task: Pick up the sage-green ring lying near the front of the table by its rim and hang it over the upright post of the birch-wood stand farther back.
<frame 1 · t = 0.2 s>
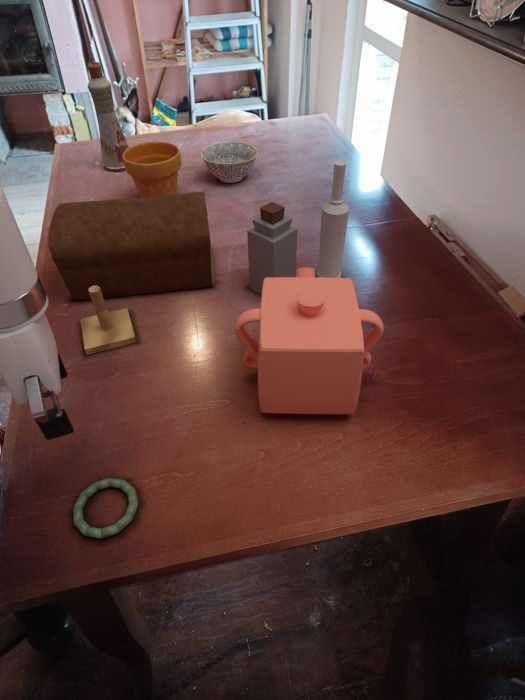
hand: (58, 405, 60), 13 cm above the table, tool pointing down, fingers open, 9 cm apart
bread: (145, 274, 104), on the table
bowl: (231, 178, 137), on the table
flower pot: (160, 201, 128), on the table
bottle: (118, 166, 145), on the table
ring: (105, 506, 64), point 1 cm above the table
teapot: (304, 365, 83), on the table
perfume bottle: (272, 287, 100), on the table
stand: (108, 333, 90), on the table
bottle 2: (328, 280, 101), on the table
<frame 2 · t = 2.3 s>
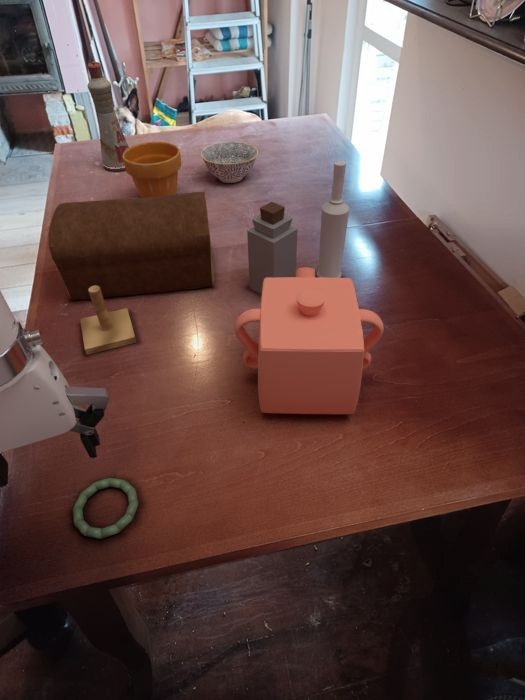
hand: (49, 461, 54), 13 cm above the table, tool pointing down, fingers open, 9 cm apart
nothing on the table moved.
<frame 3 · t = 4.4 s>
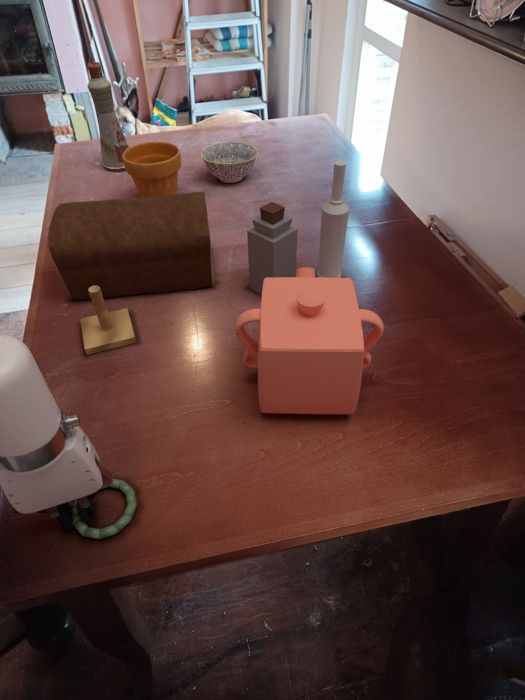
hand: (79, 517, 64), 0 cm above the table, tool pointing down, fingers closed on ring, 1 cm apart
ring: (104, 507, 64), point 1 cm above the table, touching gripper
everything else where it was.
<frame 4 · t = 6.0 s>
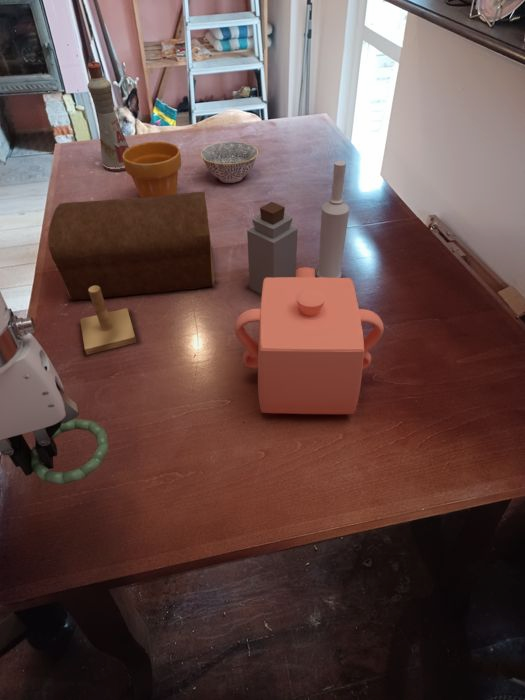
hand: (39, 460, 54), 14 cm above the table, tool pointing down, fingers closed on ring, 1 cm apart
ring: (70, 449, 54), point 14 cm above the table, touching gripper
everything else where it was.
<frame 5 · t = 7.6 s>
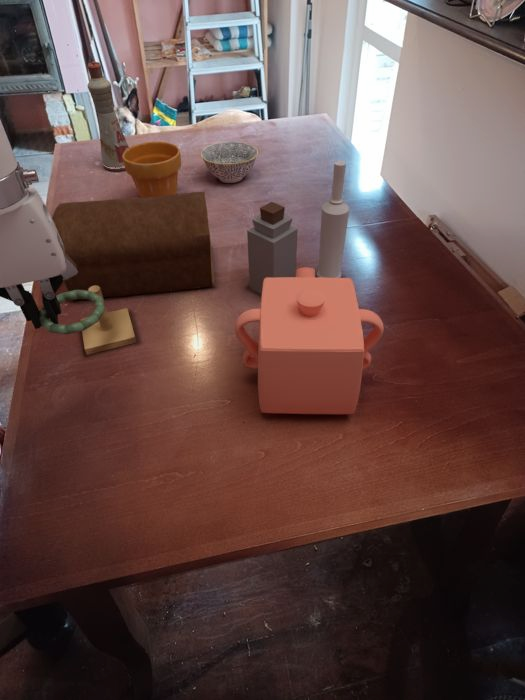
hand: (46, 319, 63), 19 cm above the table, tool pointing down, fingers closed on ring, 1 cm apart
ring: (72, 311, 64), point 20 cm above the table, touching gripper
everything else where it was.
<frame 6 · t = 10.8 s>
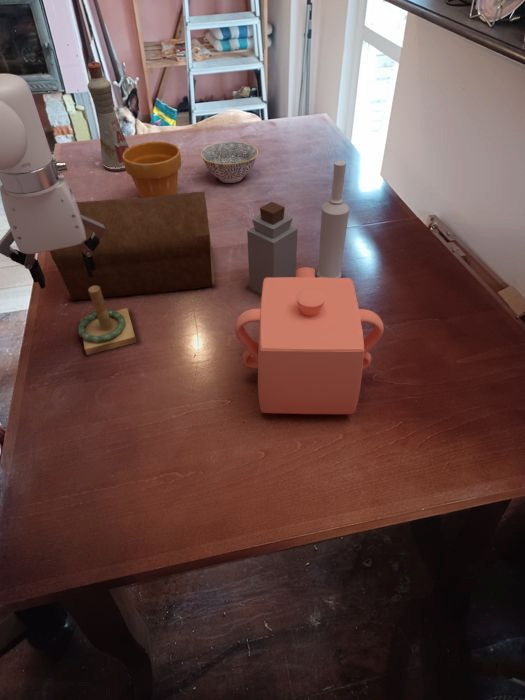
hand: (67, 278, 80), 14 cm above the table, tool pointing down, fingers open, 7 cm apart
ring: (101, 325, 88), point 2 cm above the table, touching stand
everything else where it was.
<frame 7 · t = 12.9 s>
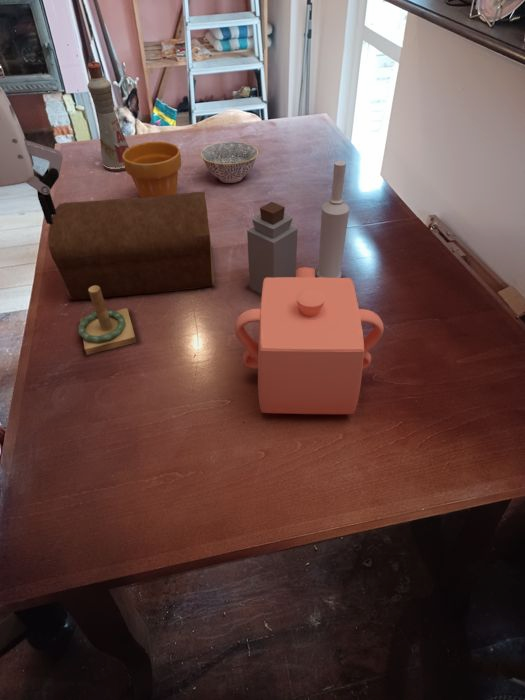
hand: (11, 226, 62), 29 cm above the table, tool pointing down, fingers open, 9 cm apart
nothing on the table moved.
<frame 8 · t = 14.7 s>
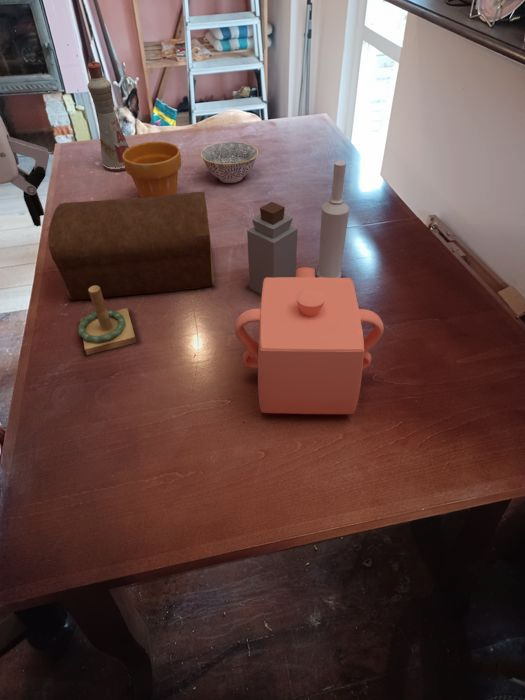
nothing on the table moved.
at the end: ring 0.8 cm off-centre on the stand, point 2.1 cm above the stand's base; the gripper is holding nothing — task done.
